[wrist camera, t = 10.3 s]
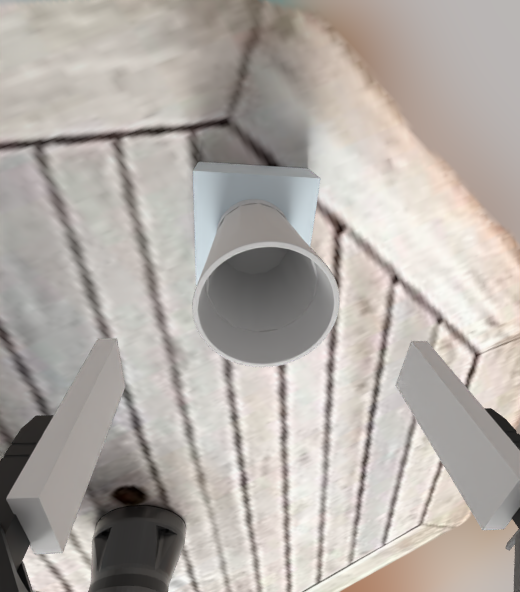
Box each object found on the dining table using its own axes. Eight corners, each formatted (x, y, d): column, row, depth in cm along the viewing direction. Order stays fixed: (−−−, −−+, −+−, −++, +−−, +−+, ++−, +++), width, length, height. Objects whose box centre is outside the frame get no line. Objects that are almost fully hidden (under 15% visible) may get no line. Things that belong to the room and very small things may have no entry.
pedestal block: (200, 264, 35) (196, 286, 30) (198, 161, 30) (192, 170, 26) (295, 267, 36) (303, 289, 31) (307, 168, 31) (320, 178, 27)
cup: (262, 293, 31) (278, 386, 21) (188, 247, 29) (164, 327, 18) (318, 225, 28) (369, 294, 18) (242, 167, 26) (250, 208, 15)
